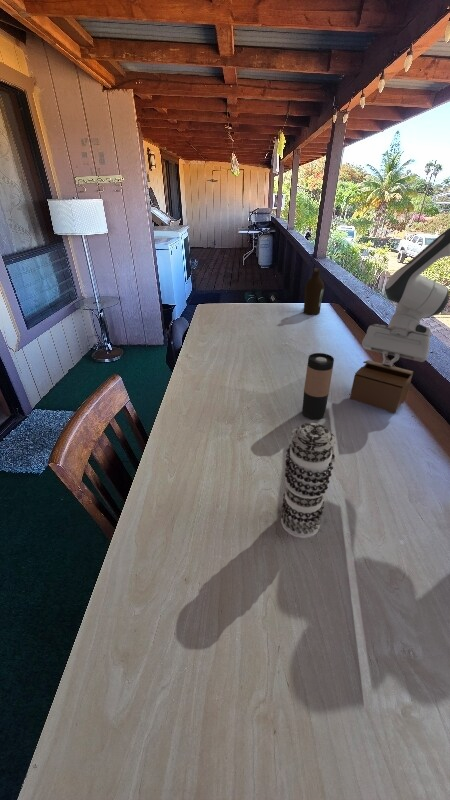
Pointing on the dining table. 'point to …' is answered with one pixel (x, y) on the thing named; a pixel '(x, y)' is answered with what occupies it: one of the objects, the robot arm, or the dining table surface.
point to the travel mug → (317, 385)
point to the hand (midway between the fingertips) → (386, 365)
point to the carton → (380, 387)
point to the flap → (388, 367)
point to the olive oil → (313, 294)
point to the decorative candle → (306, 478)
